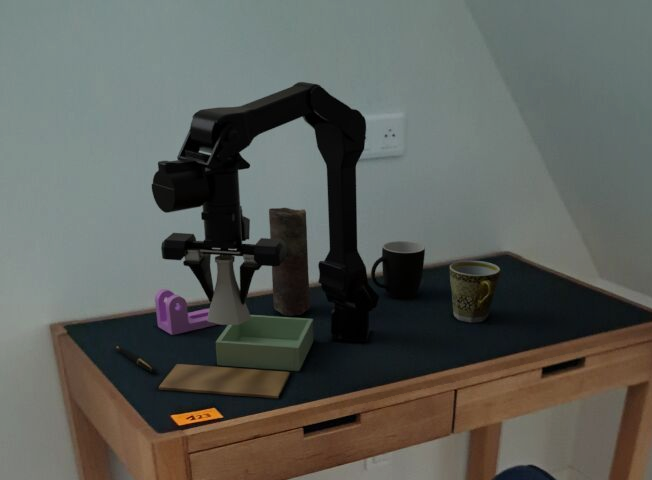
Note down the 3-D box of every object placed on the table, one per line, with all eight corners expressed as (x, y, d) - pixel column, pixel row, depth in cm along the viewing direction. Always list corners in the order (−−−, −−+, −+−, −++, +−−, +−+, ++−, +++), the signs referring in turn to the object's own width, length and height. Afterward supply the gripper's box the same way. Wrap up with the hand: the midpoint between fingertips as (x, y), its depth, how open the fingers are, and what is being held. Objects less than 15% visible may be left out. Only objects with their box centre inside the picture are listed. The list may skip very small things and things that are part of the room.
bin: (313, 341, 162) (313, 318, 160) (299, 371, 150) (298, 347, 148) (237, 335, 163) (236, 313, 161) (217, 365, 151) (215, 341, 149)
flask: (242, 328, 138) (239, 265, 132) (199, 324, 139) (194, 261, 134) (256, 314, 144) (253, 253, 138) (215, 309, 145) (211, 249, 139)
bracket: (172, 335, 162) (168, 298, 159) (158, 326, 166) (153, 290, 162) (231, 321, 169) (228, 286, 166) (216, 313, 173) (213, 278, 169)
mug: (408, 285, 191) (411, 239, 186) (430, 297, 185) (433, 249, 179) (361, 292, 186) (362, 245, 181) (381, 305, 180) (382, 256, 174)
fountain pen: (113, 350, 156) (112, 342, 155) (119, 348, 156) (118, 340, 155) (151, 375, 147) (150, 367, 146) (157, 374, 147) (156, 365, 146)
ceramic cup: (438, 310, 178) (442, 262, 172) (482, 307, 181) (487, 259, 175) (463, 332, 168) (467, 281, 162) (509, 328, 170) (515, 278, 165)
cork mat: (289, 374, 149) (289, 371, 148) (277, 398, 140) (277, 395, 140) (177, 366, 150) (176, 363, 150) (158, 389, 142) (158, 386, 142)
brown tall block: (266, 308, 176) (261, 206, 165) (295, 302, 180) (293, 202, 169) (286, 319, 171) (283, 215, 160) (317, 312, 175) (316, 210, 164)
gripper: (291, 194, 137) (293, 291, 146) (177, 187, 139) (186, 284, 147) (277, 210, 128) (280, 313, 137) (155, 203, 130) (166, 305, 138)
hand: (227, 302), depth 140 cm, fingers closed on flask, 5 cm apart
